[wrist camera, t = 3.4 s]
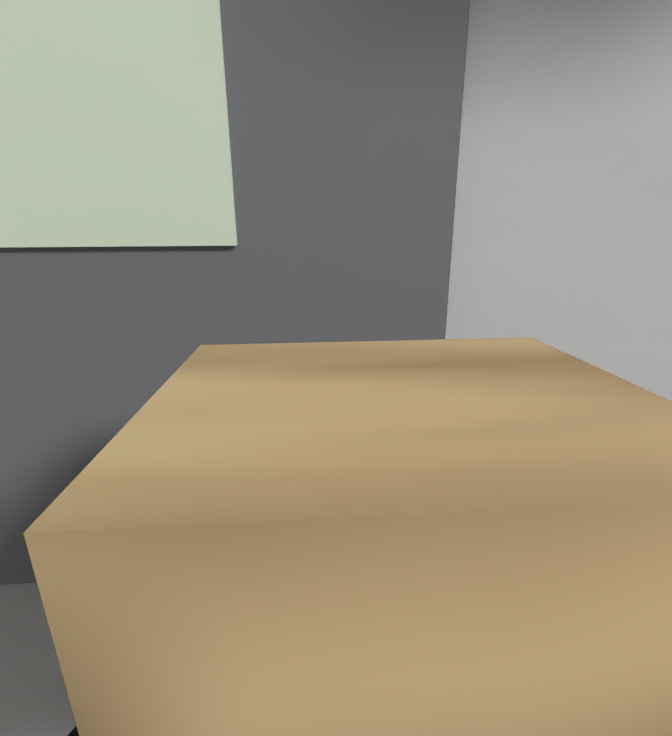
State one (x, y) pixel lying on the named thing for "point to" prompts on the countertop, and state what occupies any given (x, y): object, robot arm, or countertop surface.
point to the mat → (207, 202)
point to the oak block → (370, 548)
